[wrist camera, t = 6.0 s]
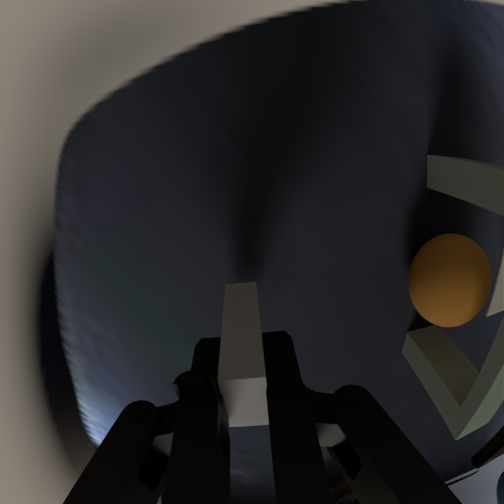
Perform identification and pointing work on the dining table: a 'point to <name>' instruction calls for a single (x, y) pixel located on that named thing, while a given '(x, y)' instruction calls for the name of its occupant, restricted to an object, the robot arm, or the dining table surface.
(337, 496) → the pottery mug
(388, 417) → the robot arm
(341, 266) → the dining table surface
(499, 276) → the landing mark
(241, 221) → the dining table surface
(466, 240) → the ball
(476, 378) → the bridge
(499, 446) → the diary
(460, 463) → the dining table surface
